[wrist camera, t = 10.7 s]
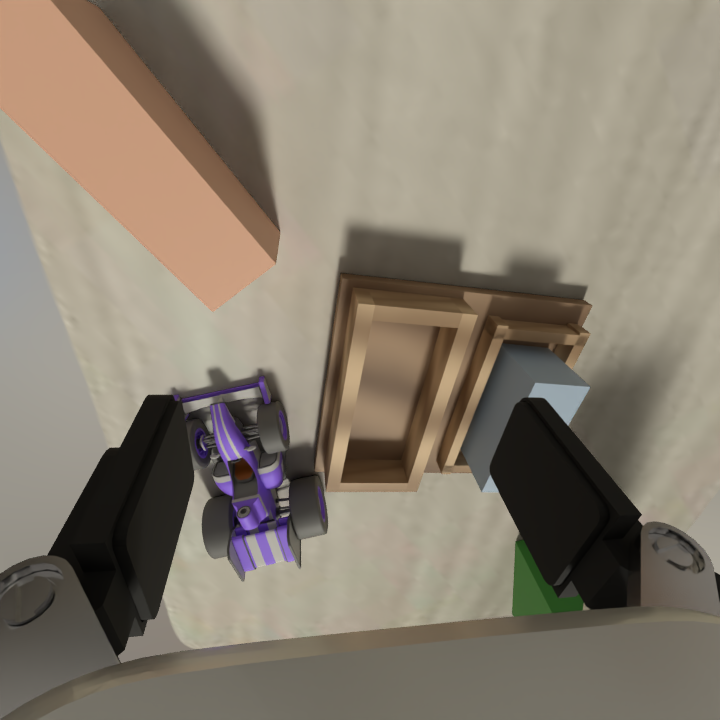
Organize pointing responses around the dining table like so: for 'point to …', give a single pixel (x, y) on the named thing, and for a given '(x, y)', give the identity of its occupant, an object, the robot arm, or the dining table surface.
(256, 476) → the toy race car
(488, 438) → the light blue block
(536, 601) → the hardback book
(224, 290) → the salmon orange rectangular block
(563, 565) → the robot arm
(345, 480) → the jig
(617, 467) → the dining table surface
